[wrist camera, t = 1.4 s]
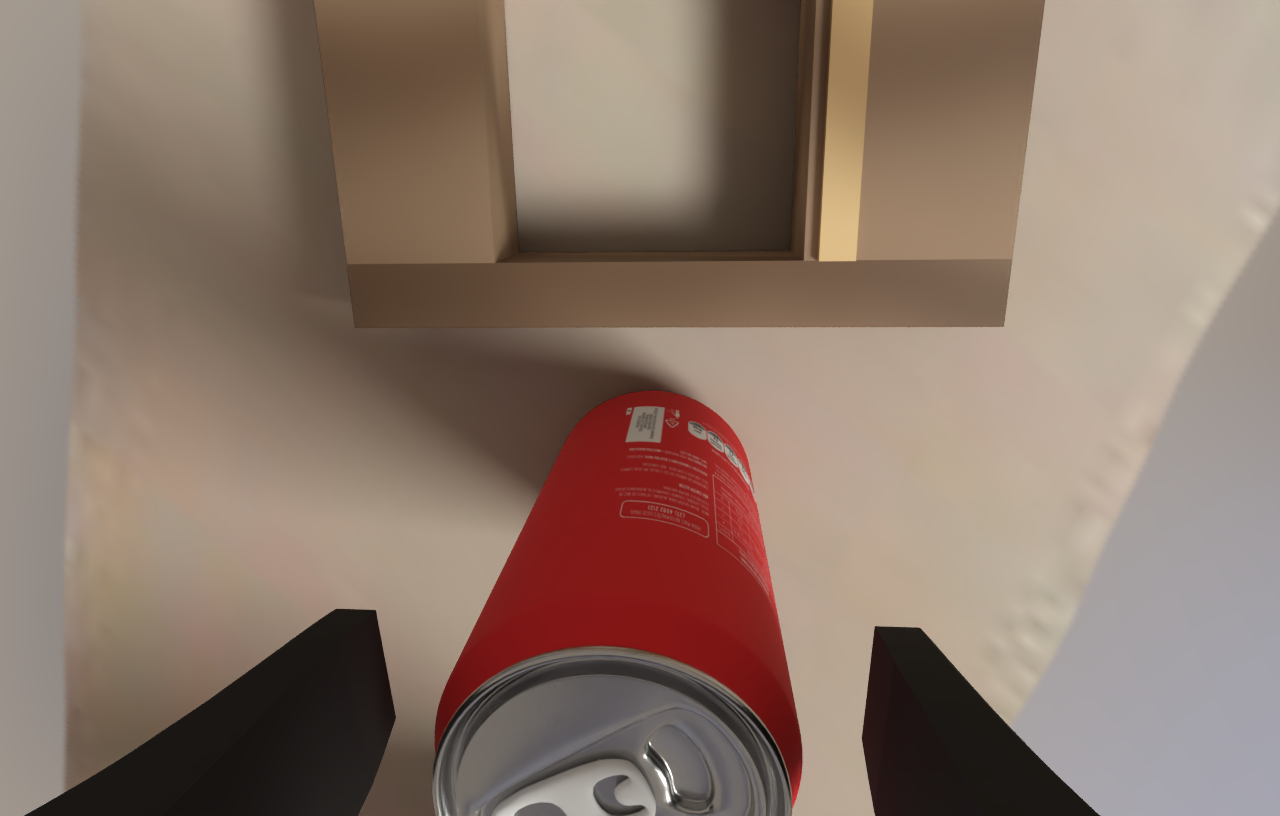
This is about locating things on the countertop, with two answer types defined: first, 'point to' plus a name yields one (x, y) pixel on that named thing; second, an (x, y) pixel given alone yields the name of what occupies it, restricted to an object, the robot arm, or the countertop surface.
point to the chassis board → (691, 280)
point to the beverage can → (628, 638)
